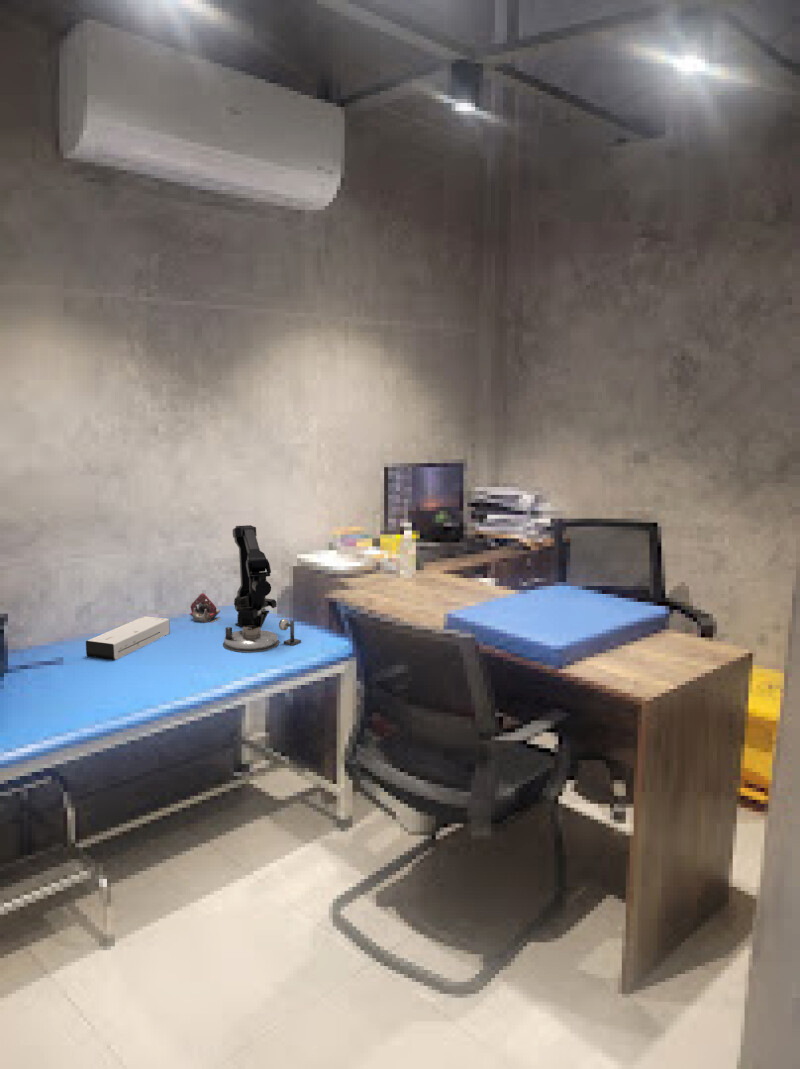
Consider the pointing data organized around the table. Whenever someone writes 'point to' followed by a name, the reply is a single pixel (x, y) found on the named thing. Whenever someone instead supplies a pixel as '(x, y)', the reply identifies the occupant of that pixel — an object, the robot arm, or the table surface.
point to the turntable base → (251, 650)
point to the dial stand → (284, 626)
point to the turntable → (239, 643)
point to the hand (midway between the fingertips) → (258, 630)
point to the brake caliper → (203, 609)
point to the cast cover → (251, 632)
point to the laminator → (127, 638)
